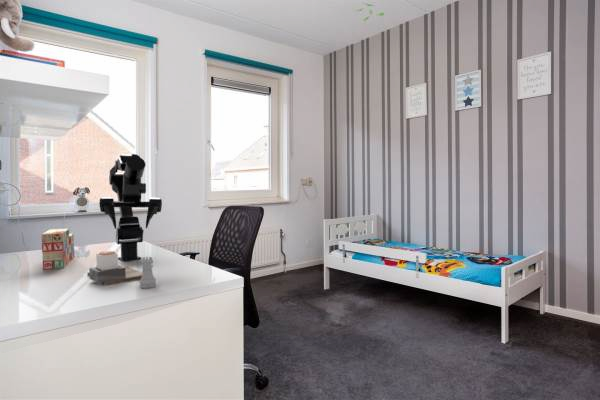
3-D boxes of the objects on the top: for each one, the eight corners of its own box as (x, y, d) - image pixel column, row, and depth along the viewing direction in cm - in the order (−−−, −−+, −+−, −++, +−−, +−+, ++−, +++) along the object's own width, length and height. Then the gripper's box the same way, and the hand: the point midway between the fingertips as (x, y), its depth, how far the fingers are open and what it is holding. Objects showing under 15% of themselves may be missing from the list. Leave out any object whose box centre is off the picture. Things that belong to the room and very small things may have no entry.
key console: (81, 276, 117) (80, 263, 117) (127, 269, 127) (126, 257, 127) (98, 286, 106) (98, 272, 106) (147, 277, 116) (147, 264, 115)
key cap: (96, 268, 111) (96, 252, 111) (112, 265, 114) (112, 250, 114) (101, 270, 108) (101, 254, 108) (118, 268, 111) (117, 252, 111)
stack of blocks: (56, 258, 147) (54, 226, 146) (74, 256, 149) (73, 225, 149) (42, 270, 127) (41, 233, 127) (64, 268, 130) (63, 232, 129)
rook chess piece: (145, 289, 103) (144, 260, 103) (135, 287, 106) (134, 258, 105) (159, 285, 107) (159, 257, 106) (150, 283, 109) (149, 255, 109)
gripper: (99, 172, 121) (96, 217, 114) (162, 175, 128) (163, 216, 121) (102, 190, 130) (99, 232, 123) (160, 191, 137) (161, 231, 130)
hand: (131, 228), depth 124 cm, fingers open, 9 cm apart
